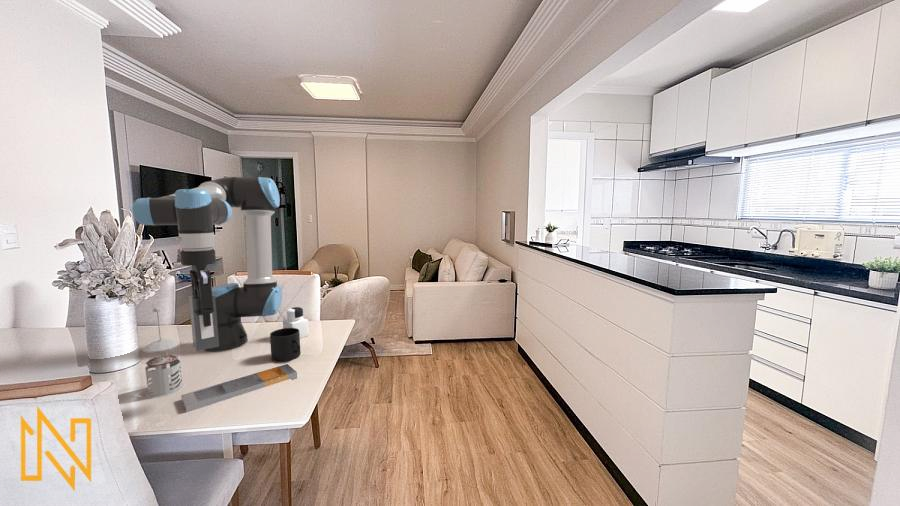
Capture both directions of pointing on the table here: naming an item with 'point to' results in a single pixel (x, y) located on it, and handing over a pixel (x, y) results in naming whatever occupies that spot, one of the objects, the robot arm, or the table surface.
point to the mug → (285, 344)
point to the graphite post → (195, 322)
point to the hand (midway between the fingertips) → (205, 334)
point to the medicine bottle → (296, 321)
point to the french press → (163, 368)
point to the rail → (236, 387)
